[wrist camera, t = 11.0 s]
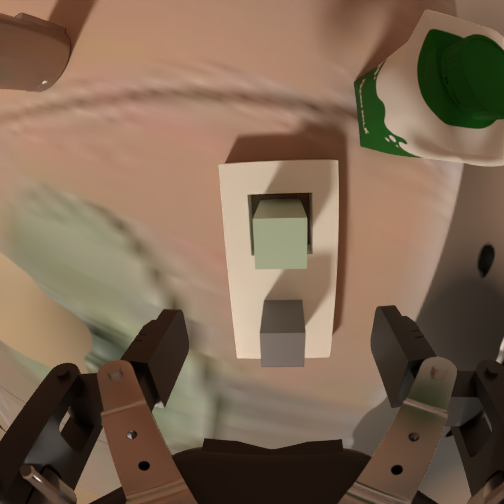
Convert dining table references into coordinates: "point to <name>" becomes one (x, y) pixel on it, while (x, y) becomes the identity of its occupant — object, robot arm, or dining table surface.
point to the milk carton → (437, 94)
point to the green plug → (280, 234)
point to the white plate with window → (281, 280)
